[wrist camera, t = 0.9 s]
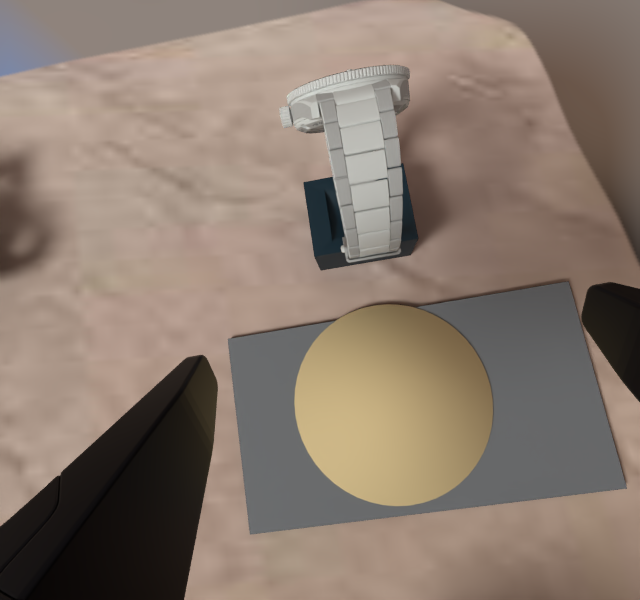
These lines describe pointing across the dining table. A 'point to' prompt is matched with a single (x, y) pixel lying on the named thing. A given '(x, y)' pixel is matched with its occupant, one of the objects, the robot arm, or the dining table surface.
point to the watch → (357, 165)
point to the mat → (420, 411)
